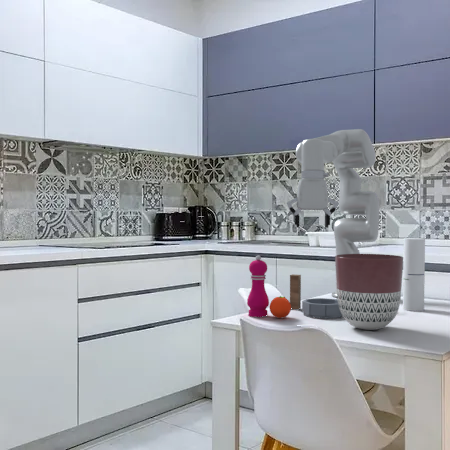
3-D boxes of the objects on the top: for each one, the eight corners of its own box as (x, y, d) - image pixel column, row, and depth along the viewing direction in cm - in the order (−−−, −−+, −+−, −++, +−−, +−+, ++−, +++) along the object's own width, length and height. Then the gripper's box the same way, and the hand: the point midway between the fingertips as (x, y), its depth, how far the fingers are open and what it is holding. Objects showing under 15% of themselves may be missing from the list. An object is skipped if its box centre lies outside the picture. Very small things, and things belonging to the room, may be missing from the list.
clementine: (276, 314, 194) (276, 293, 194) (295, 316, 190) (295, 295, 190) (265, 318, 187) (265, 296, 187) (285, 320, 184) (285, 298, 183)
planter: (353, 319, 186) (353, 252, 185) (412, 327, 173) (413, 256, 173) (322, 329, 171) (323, 256, 170) (385, 338, 158) (386, 260, 158)
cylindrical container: (420, 311, 200) (421, 239, 199) (399, 309, 204) (400, 238, 203) (427, 309, 206) (427, 238, 205) (407, 307, 210) (407, 237, 209)
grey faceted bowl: (309, 310, 203) (310, 297, 203) (346, 313, 197) (347, 299, 197) (298, 316, 191) (298, 302, 191) (337, 319, 185) (337, 305, 185)
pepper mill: (243, 316, 191) (243, 255, 190) (252, 313, 197) (252, 254, 196) (263, 318, 187) (263, 256, 187) (272, 314, 194) (272, 255, 193)
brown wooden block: (292, 307, 207) (292, 274, 207) (300, 308, 206) (300, 274, 206) (289, 309, 205) (290, 275, 204) (298, 309, 203) (298, 275, 203)
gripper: (336, 177, 198) (336, 227, 199) (286, 176, 199) (285, 226, 199) (340, 175, 191) (339, 227, 191) (287, 175, 191) (287, 227, 192)
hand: (312, 227), depth 195 cm, fingers open, 9 cm apart
